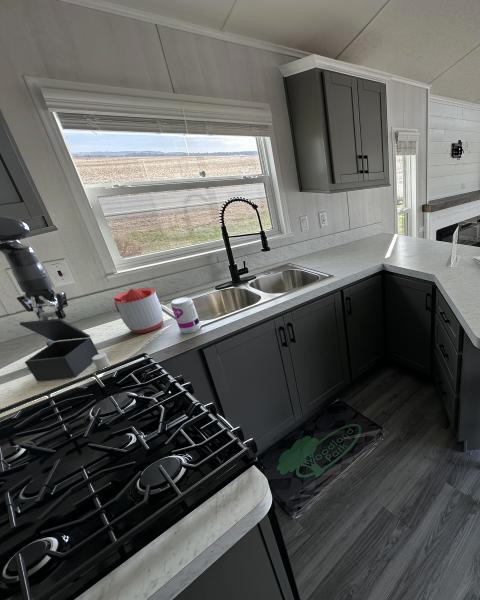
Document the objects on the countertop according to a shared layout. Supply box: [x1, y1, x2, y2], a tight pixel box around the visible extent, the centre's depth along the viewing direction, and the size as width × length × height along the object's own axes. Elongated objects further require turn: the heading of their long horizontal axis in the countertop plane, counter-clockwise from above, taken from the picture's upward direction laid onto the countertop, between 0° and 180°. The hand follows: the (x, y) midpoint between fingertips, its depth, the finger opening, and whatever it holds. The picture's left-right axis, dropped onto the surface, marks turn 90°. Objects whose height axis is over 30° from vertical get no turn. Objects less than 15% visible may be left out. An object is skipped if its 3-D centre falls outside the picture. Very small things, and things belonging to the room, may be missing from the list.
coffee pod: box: [92, 352, 112, 371], centre depth 124 cm, size 4×4×5 cm
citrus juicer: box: [111, 287, 164, 335], centre depth 148 cm, size 16×17×20 cm
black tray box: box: [24, 337, 100, 382], centre depth 124 cm, size 14×13×9 cm
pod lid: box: [19, 311, 91, 342], centre depth 123 cm, size 14×13×5 cm
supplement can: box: [170, 296, 202, 334], centre depth 147 cm, size 8×8×15 cm
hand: (54, 319), depth 121 cm, fingers closed on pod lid, 5 cm apart
